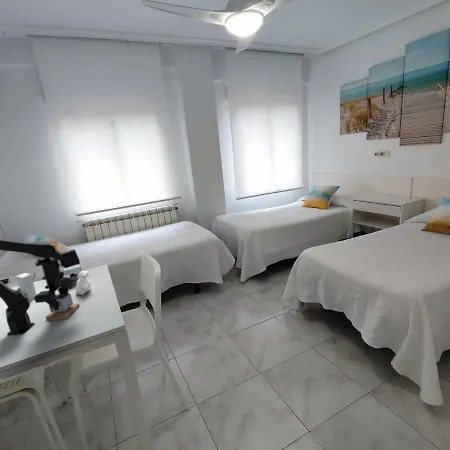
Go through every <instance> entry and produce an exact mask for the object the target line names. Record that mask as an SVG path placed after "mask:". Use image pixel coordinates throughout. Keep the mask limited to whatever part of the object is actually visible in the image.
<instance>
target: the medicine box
mask: <svg viewBox="0 0 450 450" xmlns="http://www.w3.org/2000/svg"><path fill="white" fill-rule="evenodd" d="M62 271H63V272H64V274H65V275H71V274H72V273H73V272H75V273H77V275H79V273H80V272H82V271H83V270H82V266H81V265H80V264H79V265H75V266H72V267H69V268H63V270H62ZM78 278H79V277H78Z"/></svg>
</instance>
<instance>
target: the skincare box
mask: <svg viewBox="0 0 450 450" xmlns="http://www.w3.org/2000/svg"><path fill="white" fill-rule="evenodd" d="M15 277H16V281H17V285H18V288H20V289H21V290H22V291H23V292H24V293H27V295H28V298H29V301H31V300H33V299H34V297H35V296H36V295H37V292H36V287H35V284H34V280H33V277H32V274H30V273H26V272H24V273H21V274H18V275H16V276H15ZM34 300H35V299H34Z"/></svg>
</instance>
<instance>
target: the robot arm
mask: <svg viewBox="0 0 450 450" xmlns="http://www.w3.org/2000/svg"><path fill="white" fill-rule="evenodd" d="M0 251H4V252H5V251H7V252H13V253H23V254H28V255H31V256H34V257H37V260H36V261H35V263H34V265H35V267H40V266H41V268H42V272H43V277H41V278H42V280H45V284H46V285H45V286H44V288H45V290H42V291H40V292H39V293H36V296H35V297H34V302H35V303H36V304H38V303H46V304H47V305H48V306H49V305H50V306H51V307H52V308H53V309H55V310H58V303H57V298H58V296H59V295H57V294H56V293H57V291H58V294H68V293H69V291H70V290H72V289H74V287H76V285H77V281H78V280H79V278H78V275H77V273H75V272H73V273H72V274H71V275H65V274H64V271H63V270H62V271H61V268H63V269H65V268H69V267H72V266H75V265H80V264H81V263H80V258H79V256H78V254H77V251H76V249H74V248H73V249H70V250H68V251H64V252H60V251H59V250H57V249H56V248H55V247H54V245H53V244H52V243H51V242H49V241H29V242H27V241H19V240H13V239H6V238H0ZM0 299H1V300H2V301H3V302H4V303H5V305H6V306H7V308H6V309H5V317H6V318H5V319H6V322H7V325H8V329H9V331H8V332H7V333H6V335H7V336H10V335H11V336H12V335H13V336H14V335H23V334H25V333H26V332H27V331H29V329H30V328H32V327H33V326H34V325H35V322H31V319H30V316H29V313H28V312H27V311H28V310H29V309H30V306H31V303H30V300H29V298H28V295H27V293H24V292H23V291H22V290H21V289H20V288H19V287H17V289H12V288H11V287H9V286H8V285H7V284H6V283H4V282H3V281H2V280H0Z"/></svg>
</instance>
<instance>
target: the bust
mask: <svg viewBox="0 0 450 450" xmlns="http://www.w3.org/2000/svg"><path fill="white" fill-rule="evenodd" d="M89 276H90V272H89V271H87V270H82V272H80V273H79V275H78V277H79V280H78V281H77V283H76V286H75V293H77V294H78V295H81V296H83V295H84V294H85V293H87V292H89V291H90V290H91V287H92V285H91V280H90V279H88V277H89Z"/></svg>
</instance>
